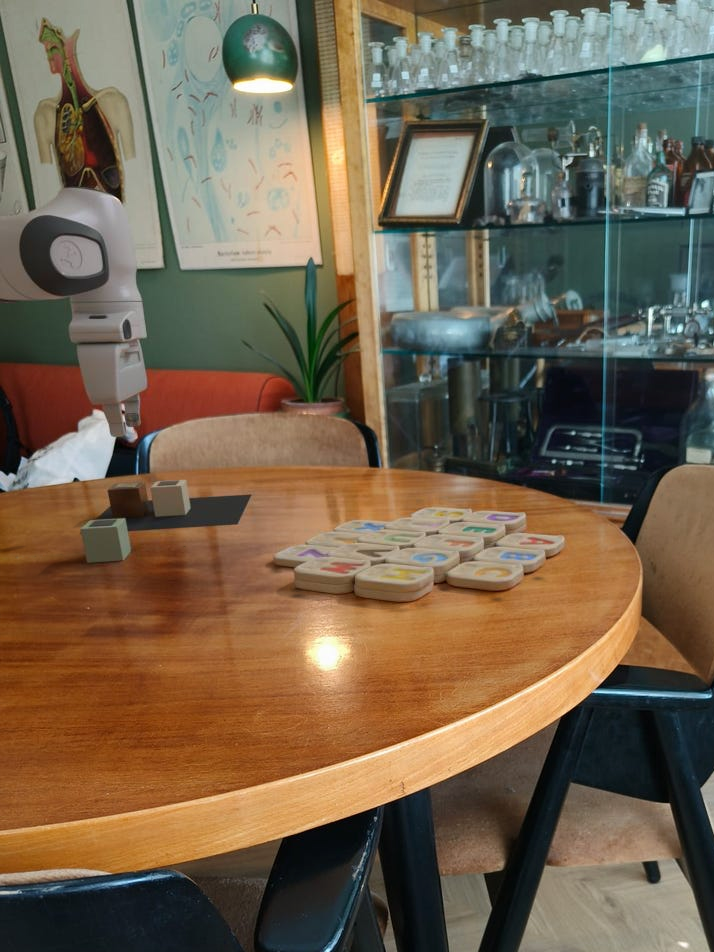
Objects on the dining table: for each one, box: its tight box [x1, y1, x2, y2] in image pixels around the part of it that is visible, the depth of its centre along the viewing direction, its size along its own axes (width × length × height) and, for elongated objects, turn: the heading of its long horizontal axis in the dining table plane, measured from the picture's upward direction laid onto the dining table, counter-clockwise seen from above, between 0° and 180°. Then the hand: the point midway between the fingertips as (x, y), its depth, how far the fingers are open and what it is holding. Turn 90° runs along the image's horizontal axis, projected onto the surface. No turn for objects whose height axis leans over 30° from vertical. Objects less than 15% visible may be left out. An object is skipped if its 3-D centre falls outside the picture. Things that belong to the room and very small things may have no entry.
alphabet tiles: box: [272, 506, 566, 603], centre depth 111 cm, size 33×33×2 cm
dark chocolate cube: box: [107, 481, 150, 519], centre depth 134 cm, size 4×4×5 cm
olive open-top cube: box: [80, 518, 132, 564], centre depth 114 cm, size 4×4×5 cm
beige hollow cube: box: [150, 479, 191, 517], centre depth 135 cm, size 4×4×5 cm
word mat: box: [79, 494, 253, 535], centre depth 136 cm, size 22×20×1 cm
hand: (126, 431), depth 122 cm, fingers open, 8 cm apart
